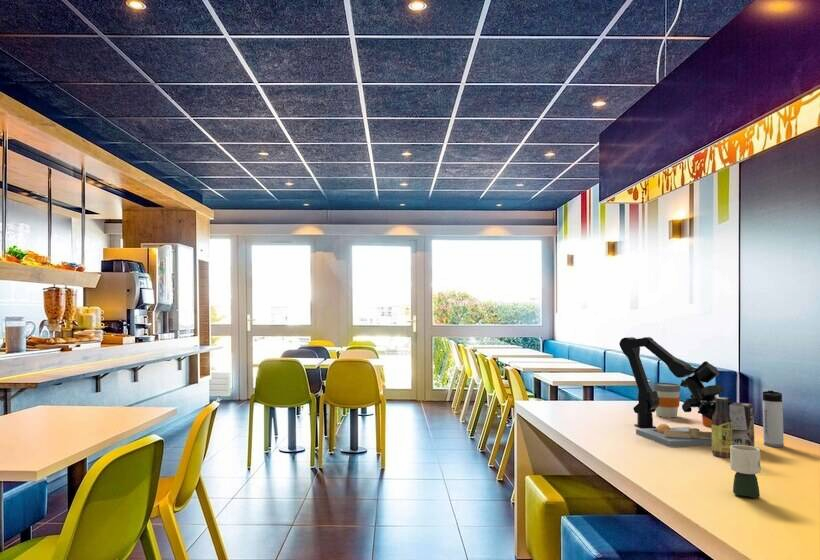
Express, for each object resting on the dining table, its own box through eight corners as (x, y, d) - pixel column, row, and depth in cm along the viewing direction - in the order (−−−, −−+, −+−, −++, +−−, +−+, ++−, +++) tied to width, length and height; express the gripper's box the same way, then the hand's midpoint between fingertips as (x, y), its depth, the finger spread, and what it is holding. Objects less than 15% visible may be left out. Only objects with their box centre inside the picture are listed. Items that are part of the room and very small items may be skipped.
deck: (636, 433, 226) (636, 428, 226) (688, 431, 230) (688, 427, 230) (669, 446, 204) (669, 441, 205) (726, 444, 209) (726, 439, 209)
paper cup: (715, 424, 246) (714, 392, 246) (723, 427, 238) (722, 395, 239) (697, 423, 246) (696, 392, 247) (704, 427, 239) (703, 394, 240)
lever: (663, 434, 214) (662, 405, 214) (722, 437, 209) (722, 408, 210) (665, 436, 210) (665, 407, 211) (726, 439, 206) (725, 409, 206)
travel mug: (781, 444, 209) (780, 391, 210) (785, 448, 203) (783, 393, 204) (762, 442, 212) (760, 389, 213) (765, 446, 206) (763, 392, 207)
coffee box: (749, 452, 198) (748, 406, 198) (729, 449, 202) (728, 404, 203) (755, 447, 204) (754, 403, 205) (735, 444, 209) (734, 401, 209)
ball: (660, 419, 222) (652, 429, 221) (671, 426, 218) (663, 436, 217) (663, 424, 225) (656, 434, 224) (674, 431, 221) (667, 441, 220)
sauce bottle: (725, 459, 188) (723, 400, 189) (707, 454, 194) (706, 397, 195) (737, 456, 191) (735, 398, 192) (719, 452, 197) (718, 396, 198)
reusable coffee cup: (679, 419, 255) (678, 386, 256) (650, 416, 262) (649, 384, 263) (682, 415, 266) (682, 383, 267) (654, 412, 273) (654, 381, 273)
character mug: (769, 503, 145) (767, 453, 146) (739, 501, 146) (737, 452, 147) (752, 490, 156) (751, 443, 156) (725, 488, 157) (724, 442, 158)
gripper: (685, 377, 214) (706, 411, 203) (728, 376, 218) (751, 409, 206) (673, 395, 222) (692, 428, 210) (714, 393, 225) (735, 426, 214)
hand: (718, 423), depth 210 cm, fingers closed
